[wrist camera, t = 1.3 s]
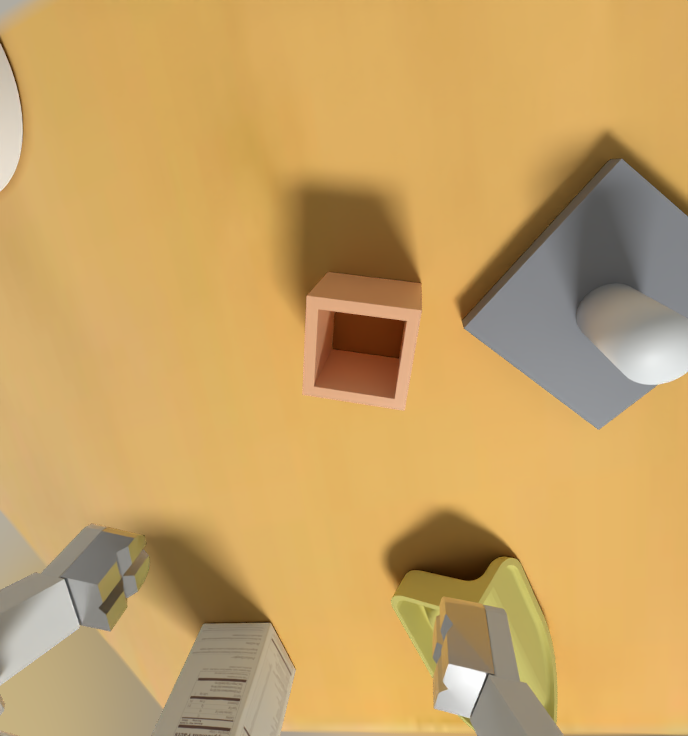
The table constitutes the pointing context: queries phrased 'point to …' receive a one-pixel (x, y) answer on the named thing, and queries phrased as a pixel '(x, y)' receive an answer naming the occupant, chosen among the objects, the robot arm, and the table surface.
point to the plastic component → (493, 588)
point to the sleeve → (351, 369)
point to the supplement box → (230, 684)
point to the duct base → (569, 271)
